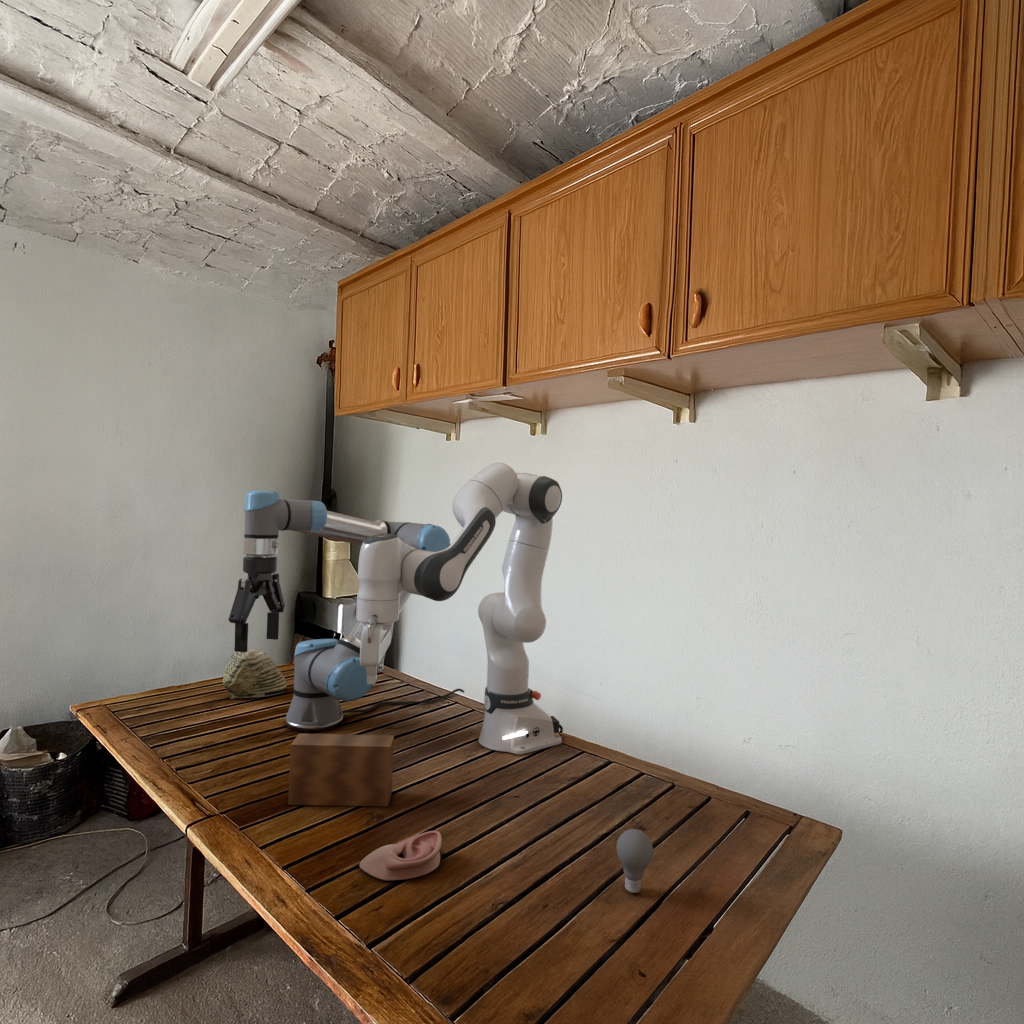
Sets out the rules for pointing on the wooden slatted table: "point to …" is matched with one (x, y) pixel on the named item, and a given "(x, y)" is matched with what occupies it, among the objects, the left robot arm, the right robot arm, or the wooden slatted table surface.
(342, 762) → the box
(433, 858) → the anatomical model
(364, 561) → the right robot arm
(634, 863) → the light bulb
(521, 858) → the wooden slatted table surface
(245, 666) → the fossil
